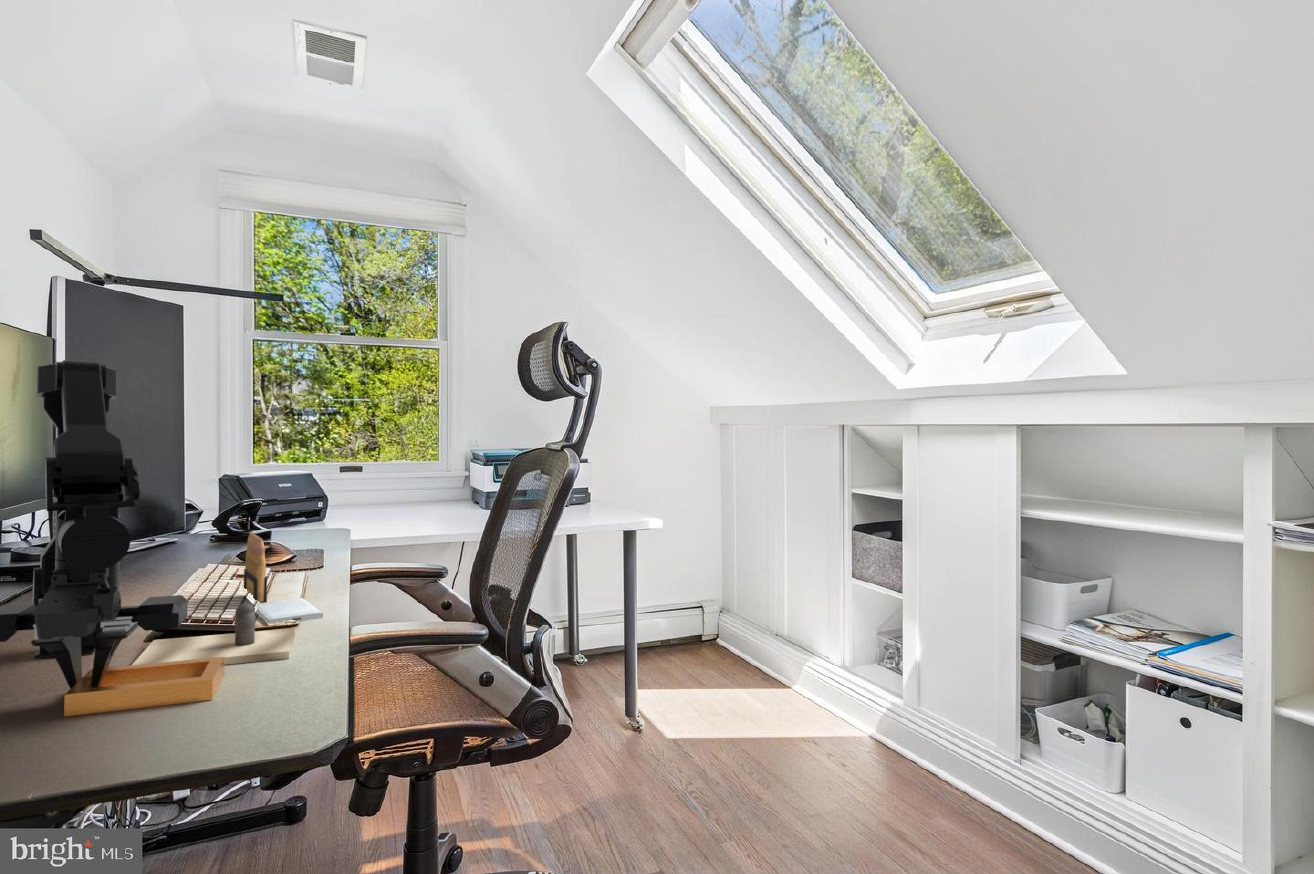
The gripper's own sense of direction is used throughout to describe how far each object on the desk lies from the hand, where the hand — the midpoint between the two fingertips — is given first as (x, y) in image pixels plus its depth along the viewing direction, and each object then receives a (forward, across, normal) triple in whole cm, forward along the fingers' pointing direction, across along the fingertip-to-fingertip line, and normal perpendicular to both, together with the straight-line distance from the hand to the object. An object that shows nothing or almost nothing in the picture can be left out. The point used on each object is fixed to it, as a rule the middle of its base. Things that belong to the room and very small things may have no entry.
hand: (85, 692), depth 82 cm
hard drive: (+2, +18, +35) cm, 40 cm away
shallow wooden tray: (+1, +6, 0) cm, 6 cm away
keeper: (+1, +11, +15) cm, 19 cm away
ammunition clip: (+1, +12, +47) cm, 49 cm away
